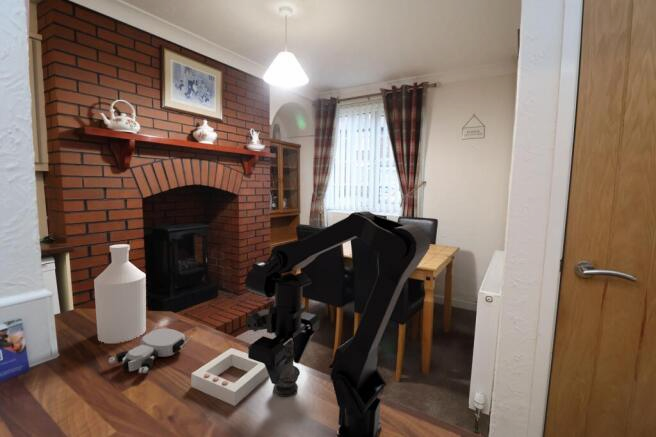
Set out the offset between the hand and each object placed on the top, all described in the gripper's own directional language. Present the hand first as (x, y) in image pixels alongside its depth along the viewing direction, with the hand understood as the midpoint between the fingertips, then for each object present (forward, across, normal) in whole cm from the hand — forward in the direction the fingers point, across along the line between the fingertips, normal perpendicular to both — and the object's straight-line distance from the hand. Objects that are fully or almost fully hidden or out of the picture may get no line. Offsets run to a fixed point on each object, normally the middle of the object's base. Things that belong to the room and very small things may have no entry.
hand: (286, 372), depth 67 cm
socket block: (+4, +3, -12) cm, 13 cm away
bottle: (+4, +2, -53) cm, 53 cm away
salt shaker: (+4, 0, 0) cm, 4 cm away
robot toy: (+4, +6, -35) cm, 36 cm away
